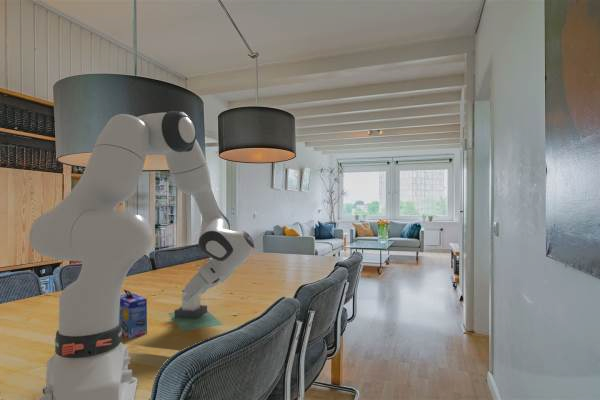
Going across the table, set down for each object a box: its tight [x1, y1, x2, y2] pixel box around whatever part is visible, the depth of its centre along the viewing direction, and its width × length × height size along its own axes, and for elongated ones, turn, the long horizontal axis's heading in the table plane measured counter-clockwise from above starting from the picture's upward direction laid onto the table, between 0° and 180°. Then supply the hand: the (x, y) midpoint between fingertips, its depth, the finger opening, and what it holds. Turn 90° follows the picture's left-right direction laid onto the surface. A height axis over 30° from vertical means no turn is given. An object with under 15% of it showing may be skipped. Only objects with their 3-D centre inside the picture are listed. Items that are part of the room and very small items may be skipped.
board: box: [168, 304, 224, 332], centre depth 119 cm, size 21×13×4 cm, turn 31°
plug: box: [181, 289, 202, 311], centre depth 123 cm, size 4×4×9 cm
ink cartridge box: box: [119, 289, 148, 339], centre depth 106 cm, size 10×6×14 cm, turn 51°
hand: (192, 296), depth 123 cm, fingers open, 8 cm apart
